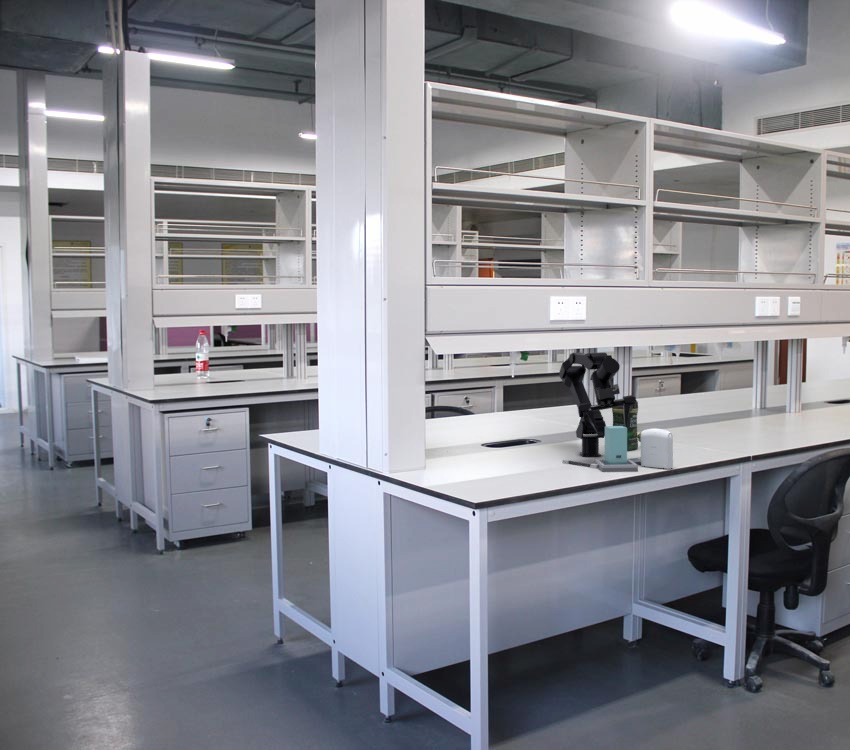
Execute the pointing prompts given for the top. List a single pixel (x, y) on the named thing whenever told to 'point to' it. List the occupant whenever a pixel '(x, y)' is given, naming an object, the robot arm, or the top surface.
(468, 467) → the top surface
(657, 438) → the photo printer
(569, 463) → the pen
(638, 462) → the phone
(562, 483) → the top surface
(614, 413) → the coffee jar
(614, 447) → the charger
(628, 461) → the tray
